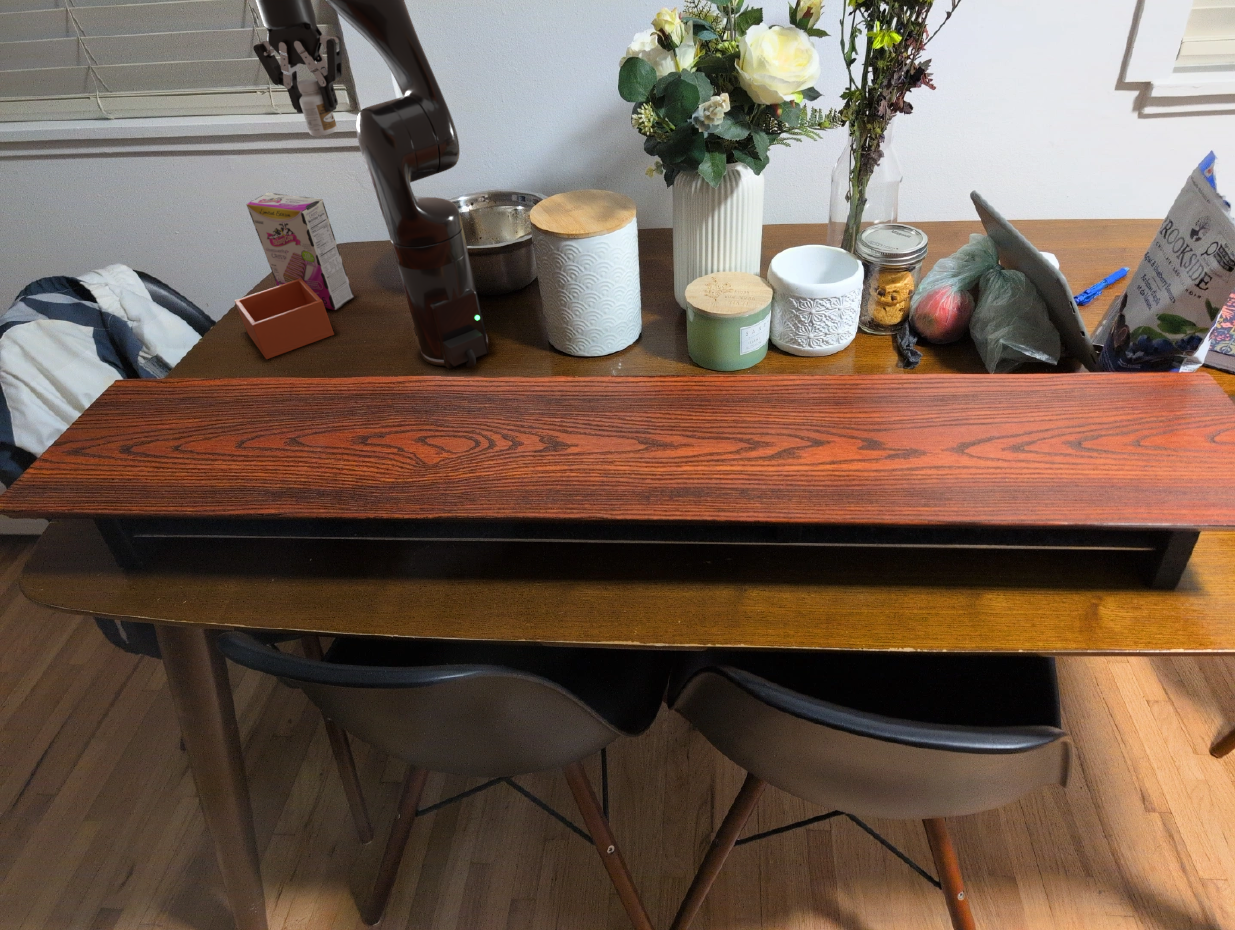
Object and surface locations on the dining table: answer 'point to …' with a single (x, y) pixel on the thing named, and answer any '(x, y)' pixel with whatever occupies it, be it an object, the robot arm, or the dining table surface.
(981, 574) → the dining table surface
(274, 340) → the bin
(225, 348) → the dining table surface
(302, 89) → the pill bottle
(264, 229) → the candy bar box
